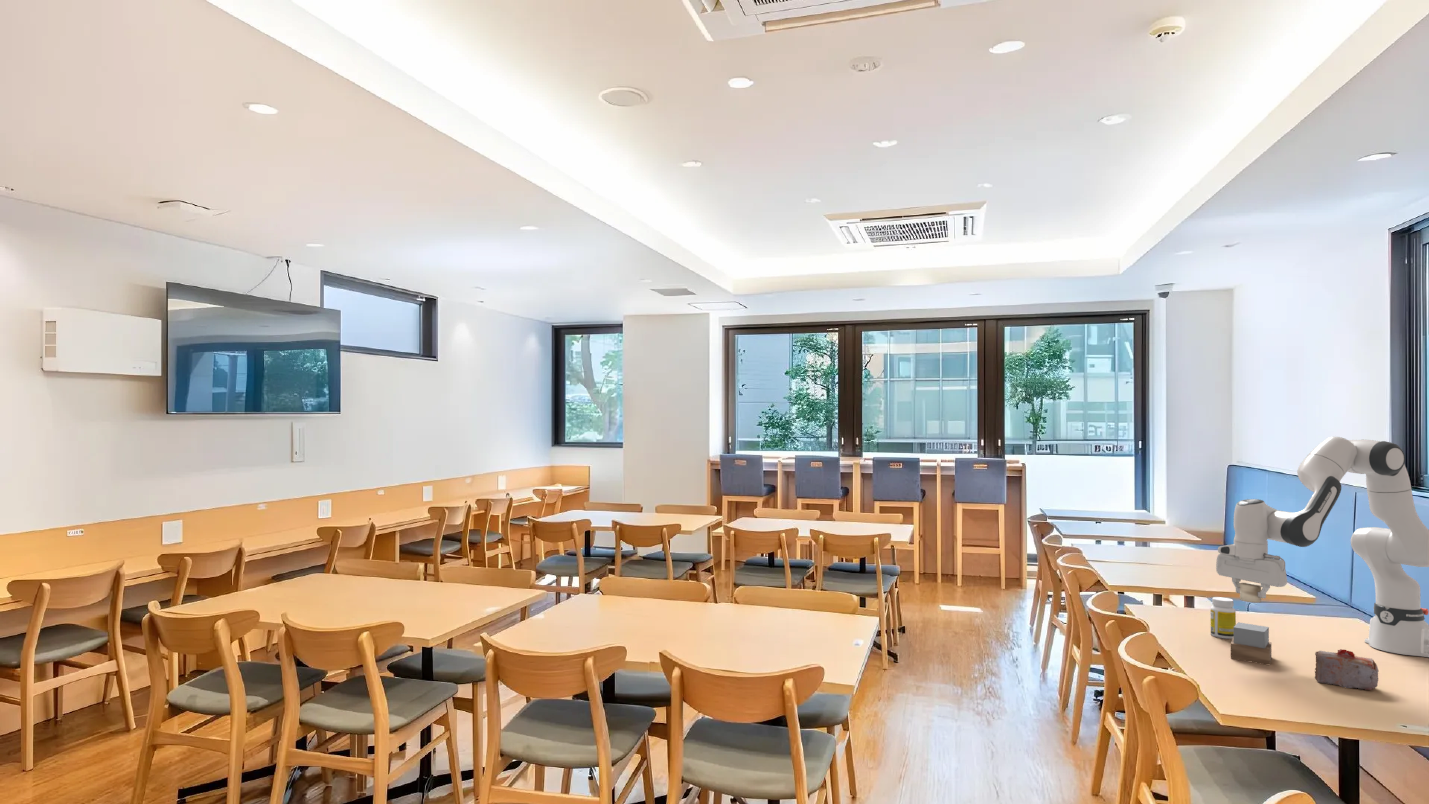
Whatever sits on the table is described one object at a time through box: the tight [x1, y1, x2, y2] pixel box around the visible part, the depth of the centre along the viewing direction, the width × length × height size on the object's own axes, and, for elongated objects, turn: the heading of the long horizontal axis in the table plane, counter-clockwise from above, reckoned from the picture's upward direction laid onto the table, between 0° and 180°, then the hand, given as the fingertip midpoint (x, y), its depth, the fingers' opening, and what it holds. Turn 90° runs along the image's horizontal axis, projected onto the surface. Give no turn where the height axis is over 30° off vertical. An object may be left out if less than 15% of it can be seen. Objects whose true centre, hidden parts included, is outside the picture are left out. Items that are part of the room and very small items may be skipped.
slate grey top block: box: [1234, 622, 1270, 649], centre depth 243 cm, size 8×8×5 cm
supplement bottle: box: [1209, 596, 1237, 640], centre depth 267 cm, size 7×7×13 cm
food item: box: [1314, 648, 1379, 691], centre depth 219 cm, size 14×8×10 cm, turn 56°
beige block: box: [1239, 582, 1262, 604], centre depth 244 cm, size 6×6×5 cm
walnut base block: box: [1230, 637, 1272, 665], centre depth 243 cm, size 10×10×5 cm
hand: (1250, 595), depth 244 cm, fingers closed on beige block, 5 cm apart
